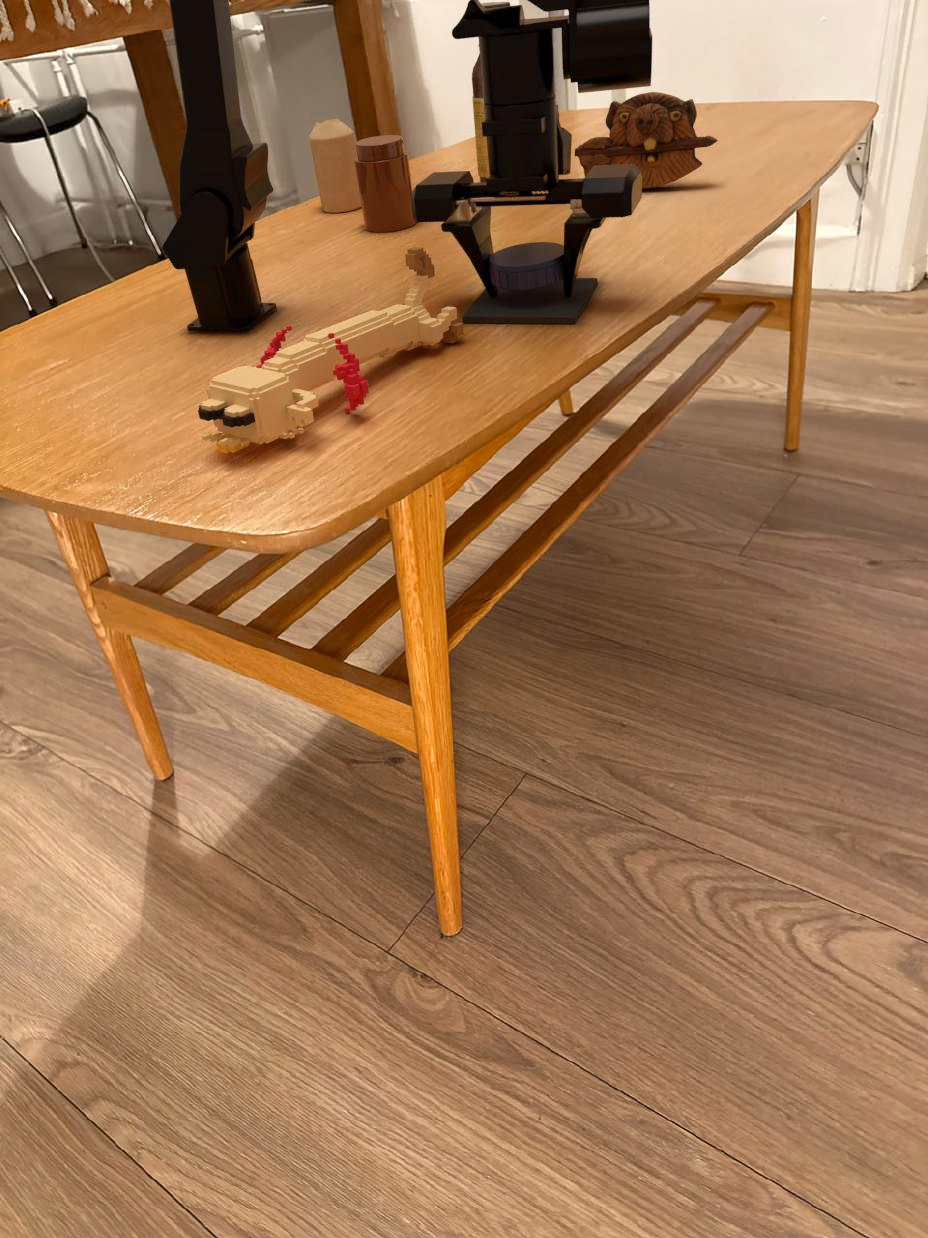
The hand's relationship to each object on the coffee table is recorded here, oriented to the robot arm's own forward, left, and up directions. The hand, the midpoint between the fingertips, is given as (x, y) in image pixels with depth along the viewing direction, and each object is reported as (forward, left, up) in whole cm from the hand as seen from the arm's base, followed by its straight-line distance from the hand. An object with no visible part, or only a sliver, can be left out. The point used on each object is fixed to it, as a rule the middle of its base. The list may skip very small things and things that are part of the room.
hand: (531, 296), depth 82 cm
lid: (0, 0, +3) cm, 3 cm away
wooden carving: (+39, -4, -1) cm, 39 cm away
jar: (+26, +24, -1) cm, 36 cm away
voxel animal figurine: (-20, +10, -1) cm, 22 cm away
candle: (+35, +34, -1) cm, 49 cm away
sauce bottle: (+41, +14, -1) cm, 43 cm away
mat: (0, 0, -1) cm, 1 cm away
